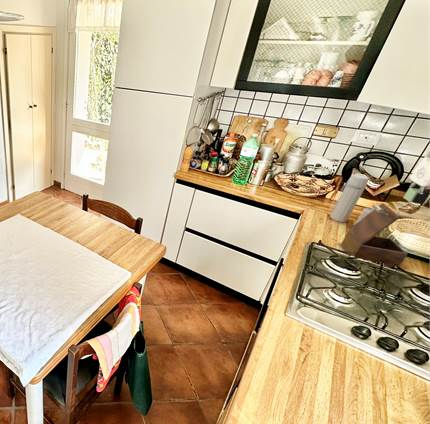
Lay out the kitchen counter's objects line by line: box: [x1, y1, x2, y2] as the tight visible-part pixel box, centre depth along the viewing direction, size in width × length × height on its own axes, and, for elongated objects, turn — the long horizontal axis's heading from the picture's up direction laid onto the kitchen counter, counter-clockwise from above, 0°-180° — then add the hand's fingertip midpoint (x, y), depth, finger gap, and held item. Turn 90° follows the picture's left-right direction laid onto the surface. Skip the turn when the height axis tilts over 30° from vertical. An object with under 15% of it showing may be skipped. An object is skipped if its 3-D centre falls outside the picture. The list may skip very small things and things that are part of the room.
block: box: [402, 187, 430, 205], centre depth 121 cm, size 4×4×4 cm
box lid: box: [348, 202, 401, 245], centre depth 130 cm, size 16×13×5 cm
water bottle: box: [329, 173, 370, 223], centre depth 160 cm, size 9×8×25 cm
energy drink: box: [354, 207, 374, 225], centre depth 153 cm, size 5×5×12 cm
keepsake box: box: [340, 230, 408, 269], centre depth 135 cm, size 16×13×8 cm
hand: (413, 199), depth 122 cm, fingers closed on block, 4 cm apart
